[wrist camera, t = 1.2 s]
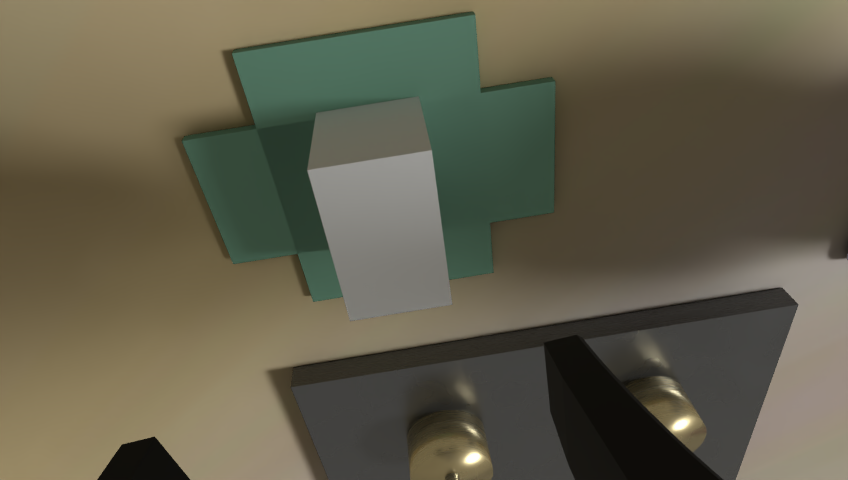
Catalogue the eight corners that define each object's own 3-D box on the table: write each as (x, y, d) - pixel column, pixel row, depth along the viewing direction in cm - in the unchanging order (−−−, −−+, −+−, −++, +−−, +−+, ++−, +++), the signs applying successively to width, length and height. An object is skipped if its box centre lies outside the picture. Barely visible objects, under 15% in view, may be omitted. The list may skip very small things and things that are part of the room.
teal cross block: (548, -5, 16) (602, 38, 12) (547, 249, 21) (585, 331, 17) (159, 57, 16) (101, 118, 12) (256, 296, 21) (235, 388, 17)
